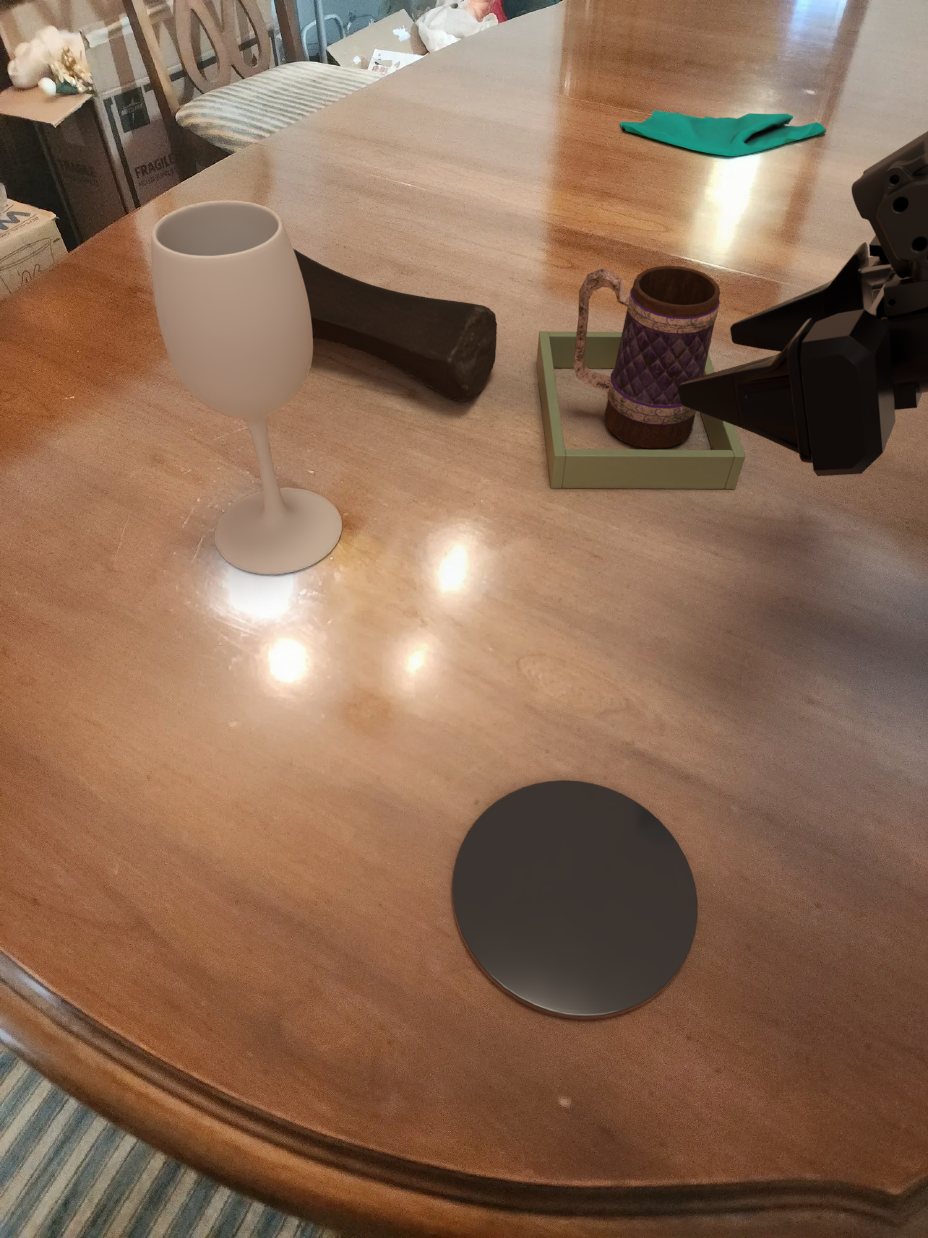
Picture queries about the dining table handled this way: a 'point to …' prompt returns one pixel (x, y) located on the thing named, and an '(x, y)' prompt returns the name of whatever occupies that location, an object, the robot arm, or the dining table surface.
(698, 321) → the mug
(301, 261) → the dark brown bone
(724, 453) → the frame
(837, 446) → the robot arm
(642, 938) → the coaster
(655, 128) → the cloth
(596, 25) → the dining table surface
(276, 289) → the wineglass
